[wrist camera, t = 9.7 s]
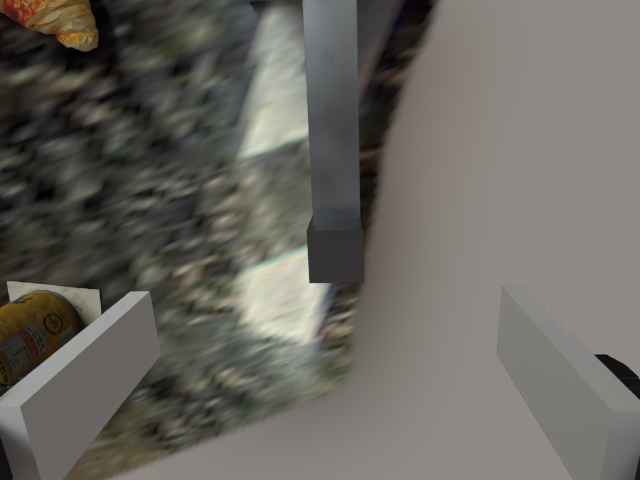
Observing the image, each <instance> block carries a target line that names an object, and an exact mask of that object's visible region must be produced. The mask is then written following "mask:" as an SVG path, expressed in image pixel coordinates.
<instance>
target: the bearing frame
mask: <svg viewBox="0 0 640 480" xmlns="http://www.w3.org/2000/svg"><path fill="white" fill-rule="evenodd" d="M247 1H248V2H264V1H279V0H247Z"/></svg>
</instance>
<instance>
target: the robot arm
mask: <svg viewBox="0 0 640 480" xmlns="http://www.w3.org/2000/svg"><path fill="white" fill-rule="evenodd" d="M160 355H161V354H160V348H159V343H158V337H157V331H156V325H155V320H154V314H153V308H152V302H151V296H150V291H149V292H130V293H128V294H127V295H126V296H125V297H123V298H122V299H121V300H120V301H118V302H117V303H116V304H115V305H113V306H112V307H111V308H110V309H109V310H107V311H106V312H105V313H104V314H102V315H101V316H100V317H99V318H97V319H96V320H95V321H94V322H92V323H91V324H90V325H89V326H88V327H86V328H85V329H84V330H83V331H81V332H80V333H79V334H78V335H76V336H75V337H74V338H73V339H71V340H70V341H69V342H68V343H67V344H65V345H64V346H63V347H62V348H60V349H59V350H58V351H57V352H55V353H54V354H53V355H52V356H50V357H48V358H46V359H44V360H42V361H40V362H38V363H36V364H35V365H33V366H31V367H30V368H28V369H27V370H26V371H25V372H23V373H22V374H21V375H20V376H18V379H14V380H13V381H12V382H11V383H9V384H8V385H7V387H6V388H3V389H2V390H1V391H0V480H62V479H63V478H64V477H65V476H66V474H67V473H68V472H69V470H70V469H71V468H72V467H73V465H74V464H75V463H76V462H77V460H78V459H79V458H80V457H81V455H82V454H83V453H84V451H85V450H86V449H87V448H88V446H89V445H90V444H91V443H92V441H93V440H94V439H95V437H96V436H97V435H98V434H99V432H100V431H101V430H102V429H103V427H104V426H105V425H106V423H107V422H108V421H109V420H110V418H111V417H112V416H113V415H114V413H115V412H116V411H117V410H118V408H119V407H120V406H121V404H122V403H123V402H124V401H125V399H126V398H127V397H128V396H129V394H130V393H131V392H132V390H133V389H134V388H135V387H136V385H137V384H138V383H139V382H140V380H141V379H142V378H143V376H144V375H145V374H146V373H147V371H148V370H149V369H150V368H151V366H152V365H153V364H154V363H155V361H156V360H157V359H158V357H159V356H160ZM497 356H498V357H499V359H500V360H501V362H502V364H503V365H504V367H505V369H506V370H507V372H508V374H509V375H510V377H511V379H512V380H513V382H514V383H515V385H516V387H517V388H518V390H519V391H520V393H521V395H522V396H523V398H524V400H525V401H526V403H527V405H528V406H529V408H530V410H531V411H532V413H533V415H534V416H535V418H536V420H537V421H538V423H539V424H540V426H541V428H542V429H543V431H544V433H545V434H546V436H547V438H548V439H549V441H550V442H551V444H552V446H553V447H554V449H555V451H556V452H557V454H558V456H559V457H560V459H561V461H562V462H563V464H564V465H565V467H566V469H567V470H568V472H569V474H570V475H571V477H572V479H573V480H640V379H639V377H638V376H637V375H636V374H635V373H634V372H633V371H632V370H630V369H629V368H628V367H627V366H626V365H625V364H623V363H621V362H619V361H617V360H615V359H614V358H612V357H610V356H608V355H604V354H603V355H594V354H593V353H592V352H590V351H589V350H588V349H587V348H586V347H585V346H584V345H583V344H582V343H581V342H580V341H579V340H578V339H577V338H576V337H575V336H574V335H573V334H572V333H571V332H570V331H569V330H568V329H567V328H566V327H565V326H564V325H563V324H562V323H561V322H560V321H559V320H558V319H557V318H556V317H555V316H554V315H553V314H552V313H551V312H550V311H549V310H548V309H547V308H546V307H545V306H544V305H543V304H542V303H541V302H540V301H539V300H538V299H537V298H536V297H535V296H534V295H533V294H532V293H531V292H530V291H529V290H528V289H527V288H526V287H525V286H503V287H502V296H501V308H500V319H499V331H498V344H497Z"/></svg>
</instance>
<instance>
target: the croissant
mask: <svg viewBox="0 0 640 480" xmlns="http://www.w3.org/2000/svg"><path fill="white" fill-rule="evenodd" d="M0 12H1V13H4V14H6V15H7V16H9V17H10V18H12V19H13V20H15V21H16V22H17V23H19V24H20V25H22V26H23V27H25V28H27V29H30V30H34V31H40V32H42V33H44V34H46V35H47V34H55V36H56V38H57V39H58V40H59V41H60V42H61V43H62V44H63V45H65V46H66V47H72V48H75V49H78V50H81V51H90V50H92V49H93V48H96V47H97V46H98V29H97V28H96V23H95V17H94V15H93V14H92V11H91V7H90V2H89V0H0Z"/></svg>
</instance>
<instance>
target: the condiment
mask: <svg viewBox="0 0 640 480" xmlns="http://www.w3.org/2000/svg"><path fill="white" fill-rule="evenodd" d="M7 285H8V292H9V298H10V301H11V302H10V303H8V304H6V305H4V306H2V307H1V308H0V391H1V390H2V389H3V388H6V387H7V385H8V384H9V383H11V382H12V381H13V380H14V379H18V376H20V375H21V374H22V373H23V372H25V371H26V370H27V369H28V368H30V367H31V366H33V365H35V364H36V363H38V362H40V361H42V360H44V359H46V358H48V357H50V356H52V355H53V354H54V353H55V352H57V351H58V350H59V349H60V348H62V347H63V346H64V345H65V344H67V343H68V342H69V341H70V340H71V339H73V338H74V337H75V336H76V335H78V334H79V333H80V332H81V331H83V330H84V329H85V328H86V327H88V326H89V325H90V324H91V323H92V322H94V321H95V320H96V319H97V318H99V317H100V316H101V302H100V294H99V290H94V289H84V288H72V287H63V286H54V285H45V284H34V283H22V282H7ZM75 305H76V306H77V307H78V308H76V307H75ZM79 308H80V309H82V311H80V310H79Z"/></svg>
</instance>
